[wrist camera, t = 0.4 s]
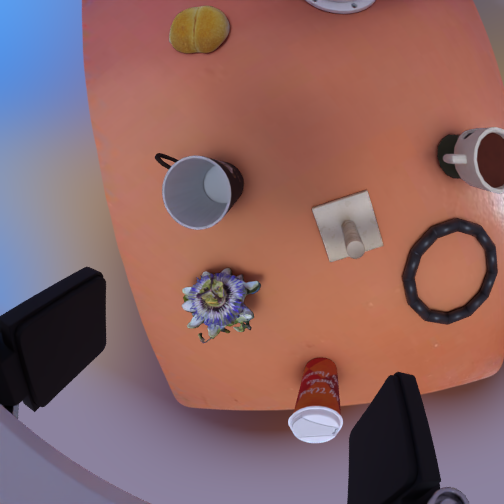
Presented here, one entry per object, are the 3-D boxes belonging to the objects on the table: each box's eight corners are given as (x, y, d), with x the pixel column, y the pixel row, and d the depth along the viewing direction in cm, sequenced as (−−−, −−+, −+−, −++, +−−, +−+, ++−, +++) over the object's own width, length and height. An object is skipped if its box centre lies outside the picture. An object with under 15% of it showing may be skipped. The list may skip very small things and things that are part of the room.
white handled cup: (481, 132, 33) (530, 130, 21) (485, 180, 35) (533, 193, 23) (418, 131, 35) (454, 124, 23) (423, 182, 37) (460, 195, 25)
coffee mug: (262, 196, 43) (244, 209, 34) (211, 222, 46) (184, 241, 37) (223, 125, 41) (196, 119, 32) (176, 155, 44) (140, 158, 35)
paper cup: (346, 354, 48) (348, 415, 35) (338, 387, 51) (336, 447, 38) (300, 350, 50) (290, 409, 37) (295, 383, 52) (284, 441, 39)
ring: (392, 237, 41) (395, 241, 39) (486, 206, 36) (492, 208, 34) (411, 332, 44) (414, 338, 43) (496, 300, 39) (500, 305, 38)
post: (312, 207, 42) (308, 226, 32) (366, 189, 40) (380, 202, 29) (329, 259, 44) (330, 293, 34) (382, 243, 42) (398, 272, 31)
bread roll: (227, 54, 38) (219, 46, 34) (172, 56, 39) (160, 49, 36) (235, 7, 35) (227, -3, 31) (180, 11, 36) (169, 2, 33)
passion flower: (237, 261, 53) (262, 265, 42) (249, 321, 54) (276, 340, 43) (172, 276, 50) (179, 284, 38) (187, 338, 51) (199, 362, 39)
